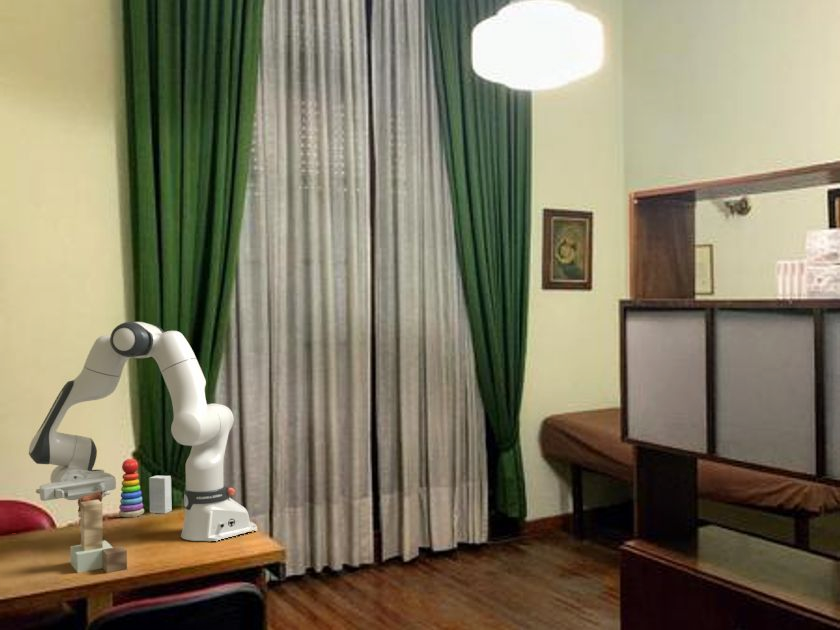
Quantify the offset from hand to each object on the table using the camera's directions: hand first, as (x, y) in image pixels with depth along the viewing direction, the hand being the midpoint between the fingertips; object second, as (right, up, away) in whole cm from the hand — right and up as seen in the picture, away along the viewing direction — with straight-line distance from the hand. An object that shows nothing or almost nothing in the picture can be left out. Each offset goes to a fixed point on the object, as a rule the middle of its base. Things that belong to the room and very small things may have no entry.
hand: (83, 491), depth 217 cm
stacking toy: (-2, -17, +41) cm, 45 cm away
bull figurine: (-16, -18, +43) cm, 49 cm away
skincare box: (+7, -17, +44) cm, 48 cm away
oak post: (+7, -12, -10) cm, 17 cm away
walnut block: (+14, -17, -14) cm, 26 cm away
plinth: (+7, -18, -10) cm, 21 cm away
